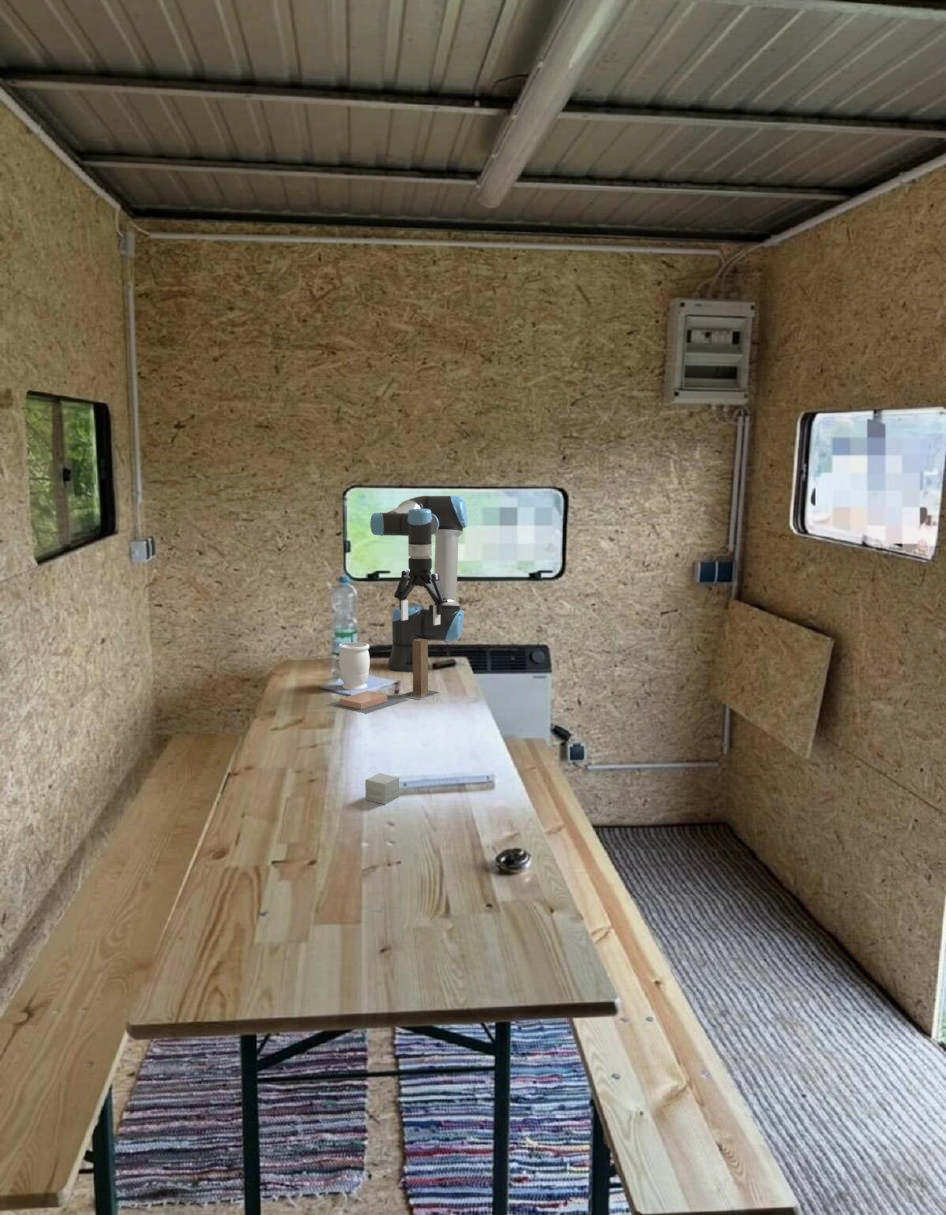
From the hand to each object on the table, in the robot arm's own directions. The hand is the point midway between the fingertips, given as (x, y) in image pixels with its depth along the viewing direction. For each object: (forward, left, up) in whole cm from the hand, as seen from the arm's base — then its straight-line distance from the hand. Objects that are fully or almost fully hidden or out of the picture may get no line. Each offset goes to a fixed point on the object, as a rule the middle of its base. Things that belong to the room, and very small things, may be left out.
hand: (420, 622), depth 282 cm
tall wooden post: (0, 0, -25) cm, 25 cm away
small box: (+74, +50, -25) cm, 93 cm away
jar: (+5, -25, -25) cm, 36 cm away
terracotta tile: (+13, -7, -23) cm, 28 cm away
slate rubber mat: (+17, -7, -25) cm, 31 cm away
